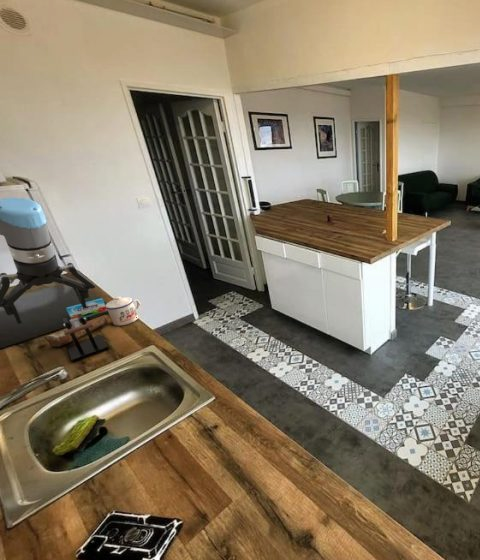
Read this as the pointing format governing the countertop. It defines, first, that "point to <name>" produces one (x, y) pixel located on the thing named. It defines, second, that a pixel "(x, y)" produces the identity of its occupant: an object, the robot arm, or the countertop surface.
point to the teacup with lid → (122, 310)
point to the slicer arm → (77, 326)
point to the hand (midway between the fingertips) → (52, 312)
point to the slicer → (85, 343)
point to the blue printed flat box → (87, 309)
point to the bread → (63, 339)
